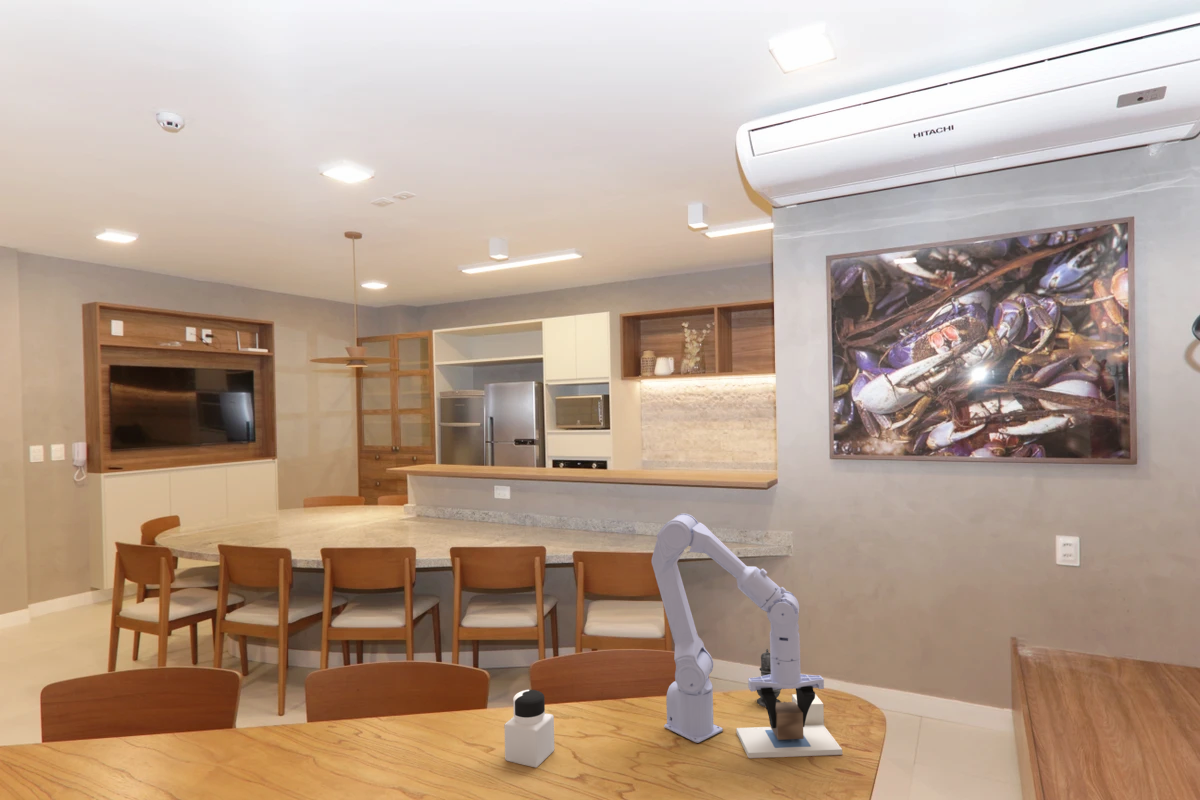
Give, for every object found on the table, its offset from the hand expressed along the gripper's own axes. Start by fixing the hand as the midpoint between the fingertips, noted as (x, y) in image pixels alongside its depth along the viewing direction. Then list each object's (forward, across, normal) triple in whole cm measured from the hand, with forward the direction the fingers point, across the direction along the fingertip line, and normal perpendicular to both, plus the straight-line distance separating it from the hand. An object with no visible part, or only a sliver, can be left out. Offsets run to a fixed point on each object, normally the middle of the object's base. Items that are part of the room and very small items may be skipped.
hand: (787, 725), depth 133 cm
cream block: (+4, -7, -8) cm, 12 cm away
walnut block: (+2, 0, 0) cm, 2 cm away
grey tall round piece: (+4, -1, -19) cm, 19 cm away
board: (+3, 0, 0) cm, 3 cm away
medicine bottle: (+4, +51, +1) cm, 51 cm away
